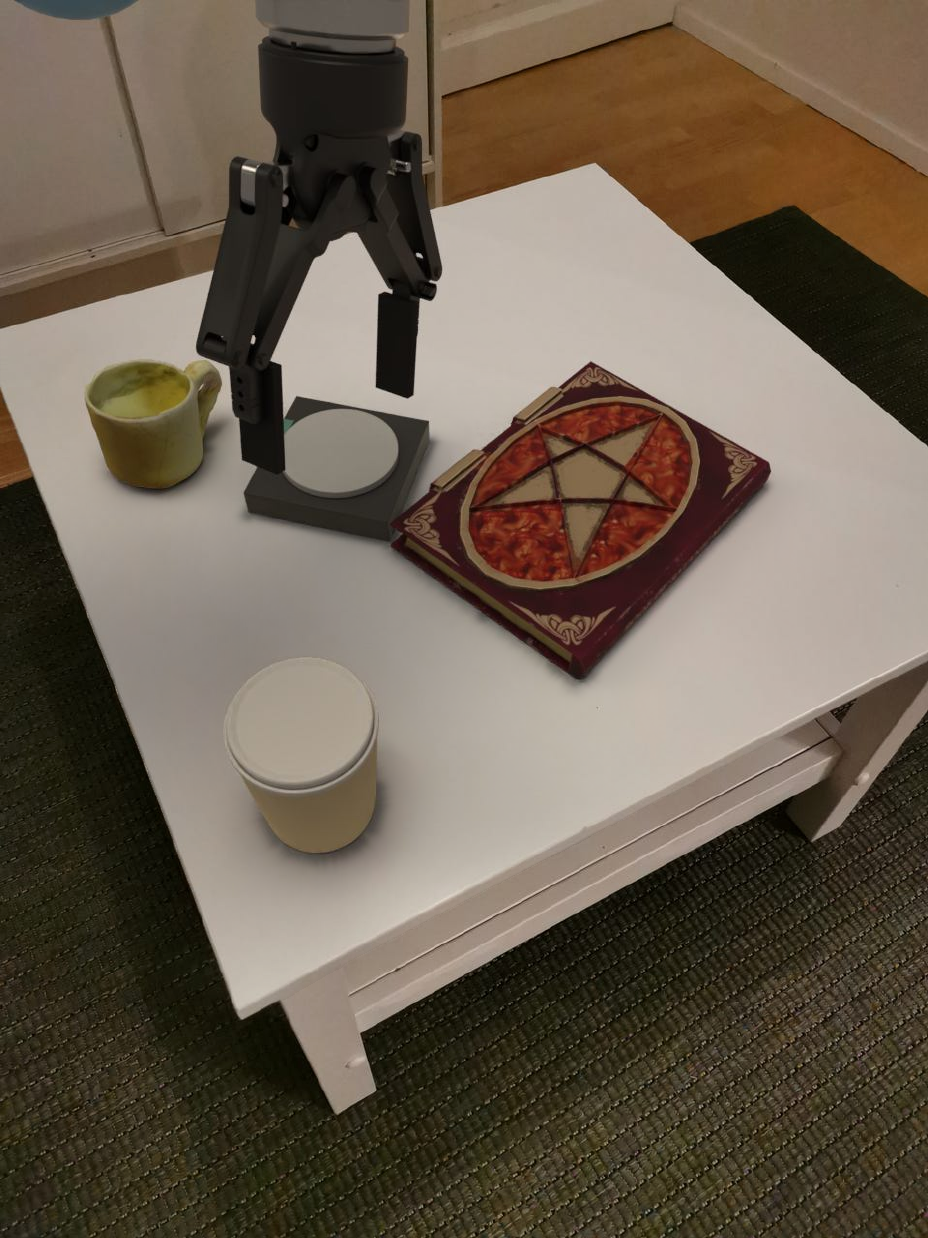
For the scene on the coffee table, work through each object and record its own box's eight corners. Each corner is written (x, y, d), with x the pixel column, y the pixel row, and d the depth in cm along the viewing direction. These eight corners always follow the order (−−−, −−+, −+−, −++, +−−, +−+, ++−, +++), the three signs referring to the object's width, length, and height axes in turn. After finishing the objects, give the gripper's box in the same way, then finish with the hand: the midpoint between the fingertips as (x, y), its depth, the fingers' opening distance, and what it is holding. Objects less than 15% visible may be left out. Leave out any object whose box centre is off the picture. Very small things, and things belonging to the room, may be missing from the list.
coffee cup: (412, 781, 66) (407, 694, 56) (337, 891, 61) (317, 816, 51) (307, 722, 68) (284, 629, 59) (226, 823, 64) (188, 740, 54)
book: (580, 686, 71) (589, 651, 67) (383, 544, 79) (382, 505, 75) (763, 489, 84) (780, 450, 80) (579, 383, 92) (587, 343, 88)
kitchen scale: (248, 512, 81) (241, 485, 78) (299, 415, 88) (295, 388, 86) (389, 541, 79) (387, 515, 76) (429, 440, 87) (429, 414, 84)
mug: (121, 511, 78) (96, 397, 73) (88, 471, 85) (63, 364, 80) (255, 479, 84) (242, 371, 78) (214, 444, 91) (199, 343, 86)
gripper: (214, 68, 36) (246, 527, 49) (517, 36, 53) (481, 381, 66) (79, 39, 38) (144, 481, 52) (410, 18, 56) (396, 352, 69)
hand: (334, 425), depth 59 cm, fingers open, 13 cm apart
